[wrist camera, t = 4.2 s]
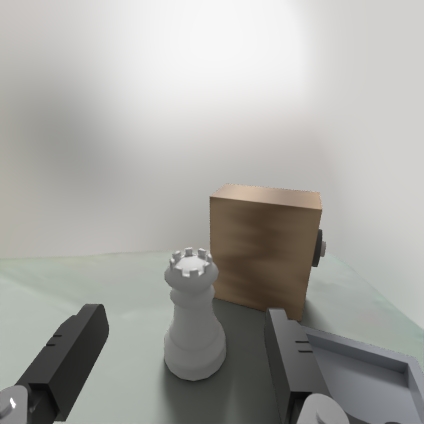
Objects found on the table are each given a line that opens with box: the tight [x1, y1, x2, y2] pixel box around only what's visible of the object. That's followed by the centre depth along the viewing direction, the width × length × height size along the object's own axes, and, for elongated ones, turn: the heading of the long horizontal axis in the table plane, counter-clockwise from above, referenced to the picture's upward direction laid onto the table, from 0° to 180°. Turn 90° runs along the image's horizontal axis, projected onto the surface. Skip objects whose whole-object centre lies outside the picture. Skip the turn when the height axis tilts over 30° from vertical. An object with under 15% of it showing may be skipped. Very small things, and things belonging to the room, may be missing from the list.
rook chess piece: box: [164, 248, 227, 381], centre depth 15 cm, size 4×4×8 cm
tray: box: [300, 325, 424, 424], centre depth 13 cm, size 7×7×2 cm
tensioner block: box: [210, 184, 326, 322], centre depth 20 cm, size 9×4×10 cm, turn 69°
